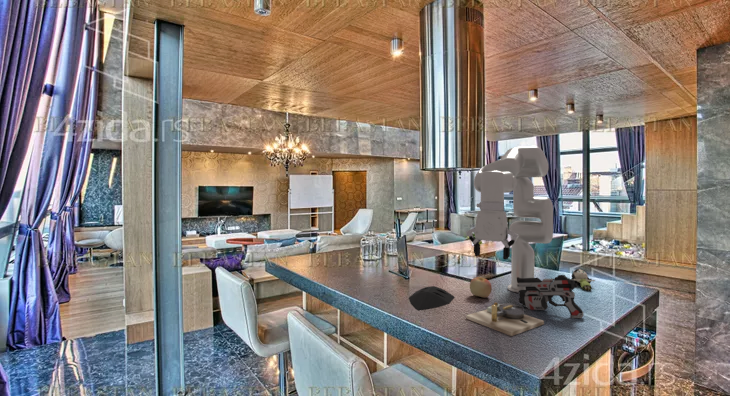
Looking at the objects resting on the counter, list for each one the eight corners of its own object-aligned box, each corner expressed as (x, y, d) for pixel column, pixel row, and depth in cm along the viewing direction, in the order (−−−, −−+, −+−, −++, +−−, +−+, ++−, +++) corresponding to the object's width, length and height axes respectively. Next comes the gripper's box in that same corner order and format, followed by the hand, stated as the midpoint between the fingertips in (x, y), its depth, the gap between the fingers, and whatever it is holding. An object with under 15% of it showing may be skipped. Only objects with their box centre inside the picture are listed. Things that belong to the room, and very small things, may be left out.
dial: (508, 309, 131) (508, 296, 131) (528, 316, 124) (528, 301, 124) (482, 317, 123) (482, 302, 123) (502, 324, 116) (503, 309, 116)
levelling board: (498, 309, 136) (498, 298, 135) (543, 324, 120) (544, 312, 120) (466, 318, 126) (466, 306, 126) (511, 336, 111) (511, 322, 111)
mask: (396, 297, 137) (420, 279, 164) (396, 309, 138) (420, 289, 164) (440, 303, 130) (458, 283, 156) (440, 316, 130) (458, 294, 157)
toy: (576, 282, 159) (566, 266, 173) (574, 296, 162) (565, 278, 175) (602, 284, 157) (590, 267, 171) (600, 298, 159) (588, 280, 173)
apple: (476, 292, 157) (476, 274, 157) (495, 297, 151) (495, 278, 151) (465, 296, 151) (465, 278, 151) (485, 301, 145) (485, 282, 145)
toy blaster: (523, 313, 140) (516, 275, 141) (584, 316, 127) (576, 273, 128) (520, 316, 137) (513, 277, 138) (583, 319, 124) (574, 275, 125)
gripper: (463, 206, 123) (462, 255, 124) (515, 208, 113) (514, 262, 113) (471, 206, 129) (471, 253, 129) (521, 207, 118) (521, 258, 119)
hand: (491, 257), depth 121 cm, fingers open, 9 cm apart
